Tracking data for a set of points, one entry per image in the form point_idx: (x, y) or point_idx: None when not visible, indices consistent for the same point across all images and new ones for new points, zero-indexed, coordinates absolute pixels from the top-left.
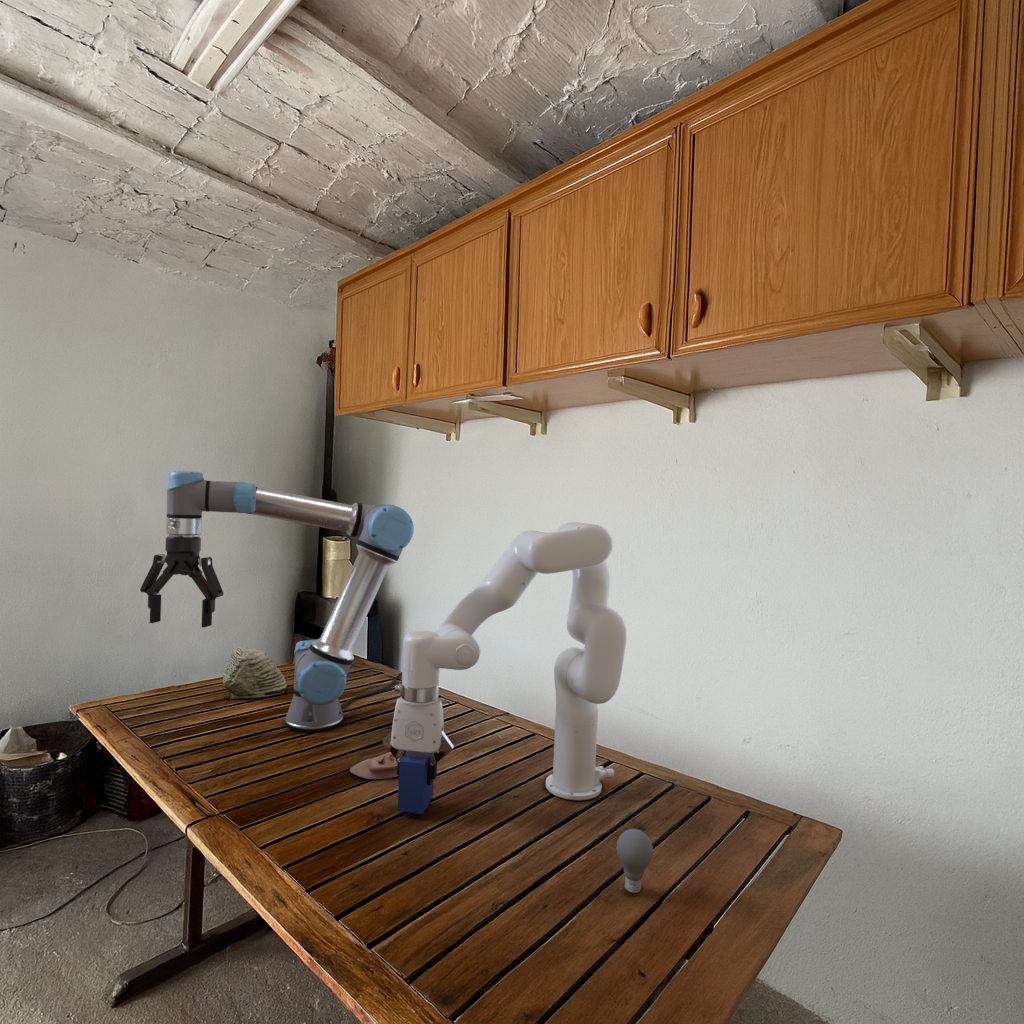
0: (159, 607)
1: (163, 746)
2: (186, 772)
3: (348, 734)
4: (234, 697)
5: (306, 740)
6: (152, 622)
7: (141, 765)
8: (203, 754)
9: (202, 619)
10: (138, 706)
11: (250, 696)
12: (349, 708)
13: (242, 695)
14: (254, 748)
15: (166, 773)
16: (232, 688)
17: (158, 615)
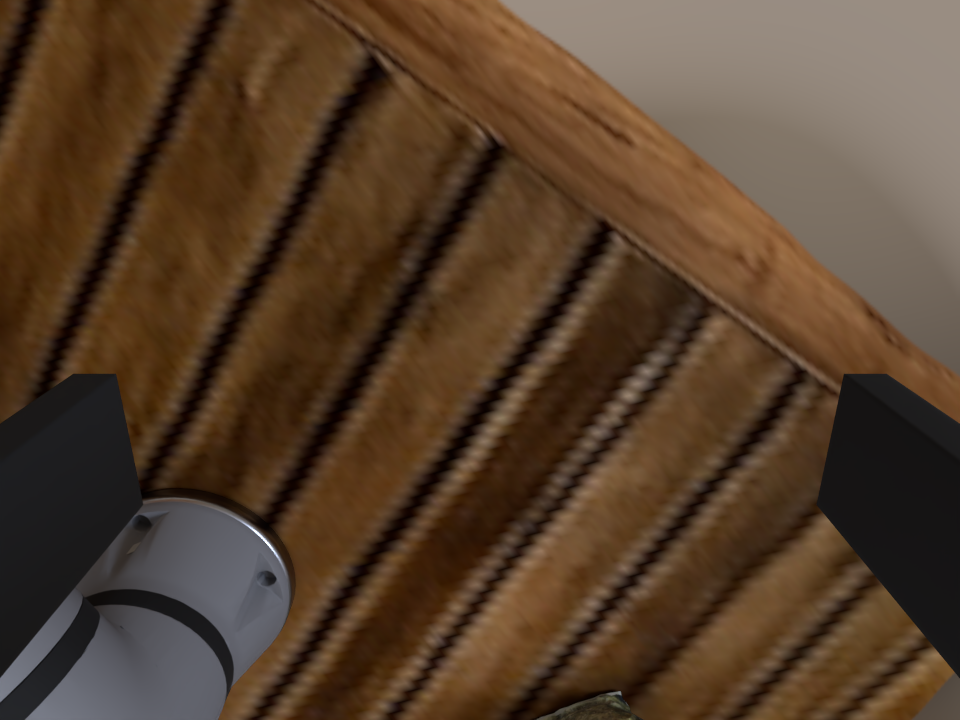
0: (934, 609)
1: (571, 249)
2: (323, 48)
3: None
4: (603, 695)
5: None
6: (850, 377)
7: (532, 62)
8: (377, 220)
9: (45, 422)
10: None
11: (555, 716)
12: None
13: (579, 709)
14: (238, 318)
15: (389, 18)
16: (610, 715)
17: (867, 517)
